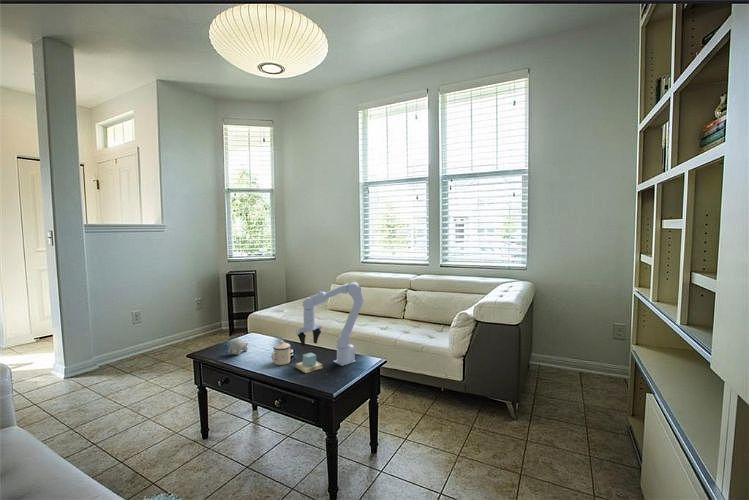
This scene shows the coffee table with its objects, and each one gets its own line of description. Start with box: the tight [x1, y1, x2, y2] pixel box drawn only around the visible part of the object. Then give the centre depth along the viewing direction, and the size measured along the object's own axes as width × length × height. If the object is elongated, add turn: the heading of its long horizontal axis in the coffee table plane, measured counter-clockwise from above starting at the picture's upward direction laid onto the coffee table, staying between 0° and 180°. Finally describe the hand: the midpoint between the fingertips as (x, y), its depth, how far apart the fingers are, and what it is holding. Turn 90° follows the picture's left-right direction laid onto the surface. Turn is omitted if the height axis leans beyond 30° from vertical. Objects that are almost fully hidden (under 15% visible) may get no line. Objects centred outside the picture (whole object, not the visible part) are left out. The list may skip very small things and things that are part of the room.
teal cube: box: [302, 352, 317, 367], centre depth 184 cm, size 5×5×5 cm
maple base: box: [295, 360, 323, 374], centre depth 185 cm, size 10×10×2 cm
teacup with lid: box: [271, 340, 292, 366], centre depth 191 cm, size 12×9×12 cm
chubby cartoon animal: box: [227, 338, 249, 356], centre depth 205 cm, size 7×12×8 cm, turn 144°
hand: (309, 344), depth 191 cm, fingers open, 7 cm apart
